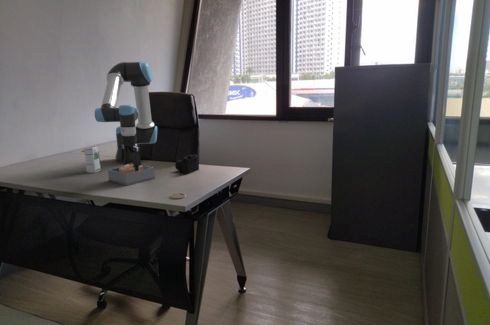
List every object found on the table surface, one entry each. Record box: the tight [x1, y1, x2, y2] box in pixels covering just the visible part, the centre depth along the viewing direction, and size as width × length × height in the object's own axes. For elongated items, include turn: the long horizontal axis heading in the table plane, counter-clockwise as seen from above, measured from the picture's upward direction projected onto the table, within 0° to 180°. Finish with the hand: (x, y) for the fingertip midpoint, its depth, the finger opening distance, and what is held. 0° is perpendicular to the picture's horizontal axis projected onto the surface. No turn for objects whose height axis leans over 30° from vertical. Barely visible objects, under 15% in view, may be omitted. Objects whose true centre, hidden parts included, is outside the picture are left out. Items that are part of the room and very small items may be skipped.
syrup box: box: [83, 145, 102, 174], centre depth 210 cm, size 6×6×14 cm
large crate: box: [107, 164, 156, 186], centre depth 192 cm, size 18×16×6 cm
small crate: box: [118, 164, 143, 173], centre depth 192 cm, size 10×7×6 cm
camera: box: [174, 153, 200, 175], centre depth 210 cm, size 14×11×10 cm
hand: (131, 177), depth 193 cm, fingers open, 7 cm apart
